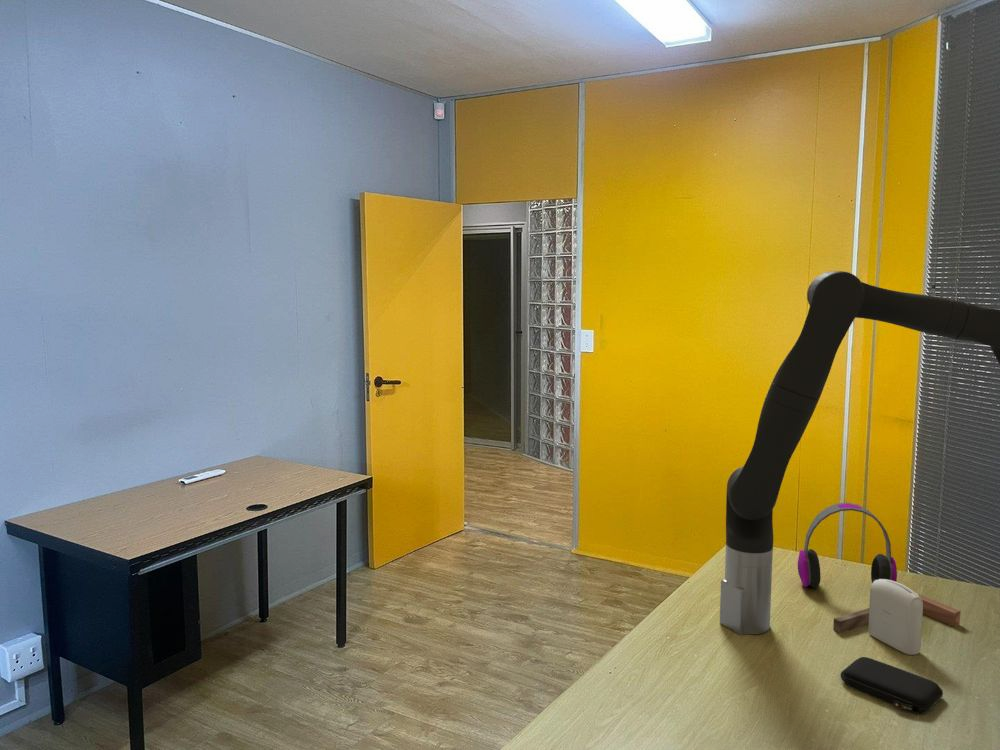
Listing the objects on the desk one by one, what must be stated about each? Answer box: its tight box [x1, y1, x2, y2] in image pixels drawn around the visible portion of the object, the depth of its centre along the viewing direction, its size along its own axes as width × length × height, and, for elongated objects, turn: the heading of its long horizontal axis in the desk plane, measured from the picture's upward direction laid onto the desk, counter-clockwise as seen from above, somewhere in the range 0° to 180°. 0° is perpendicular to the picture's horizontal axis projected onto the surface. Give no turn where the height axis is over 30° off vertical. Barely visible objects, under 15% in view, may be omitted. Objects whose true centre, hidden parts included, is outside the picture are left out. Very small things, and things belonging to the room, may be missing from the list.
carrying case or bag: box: [839, 656, 944, 715], centre depth 130 cm, size 11×3×15 cm
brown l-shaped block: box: [832, 594, 961, 634], centre depth 153 cm, size 25×10×3 cm, turn 116°
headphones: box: [797, 502, 898, 589], centre depth 171 cm, size 21×9×20 cm, turn 77°
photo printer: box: [868, 579, 924, 656], centre depth 146 cm, size 10×4×12 cm, turn 20°
